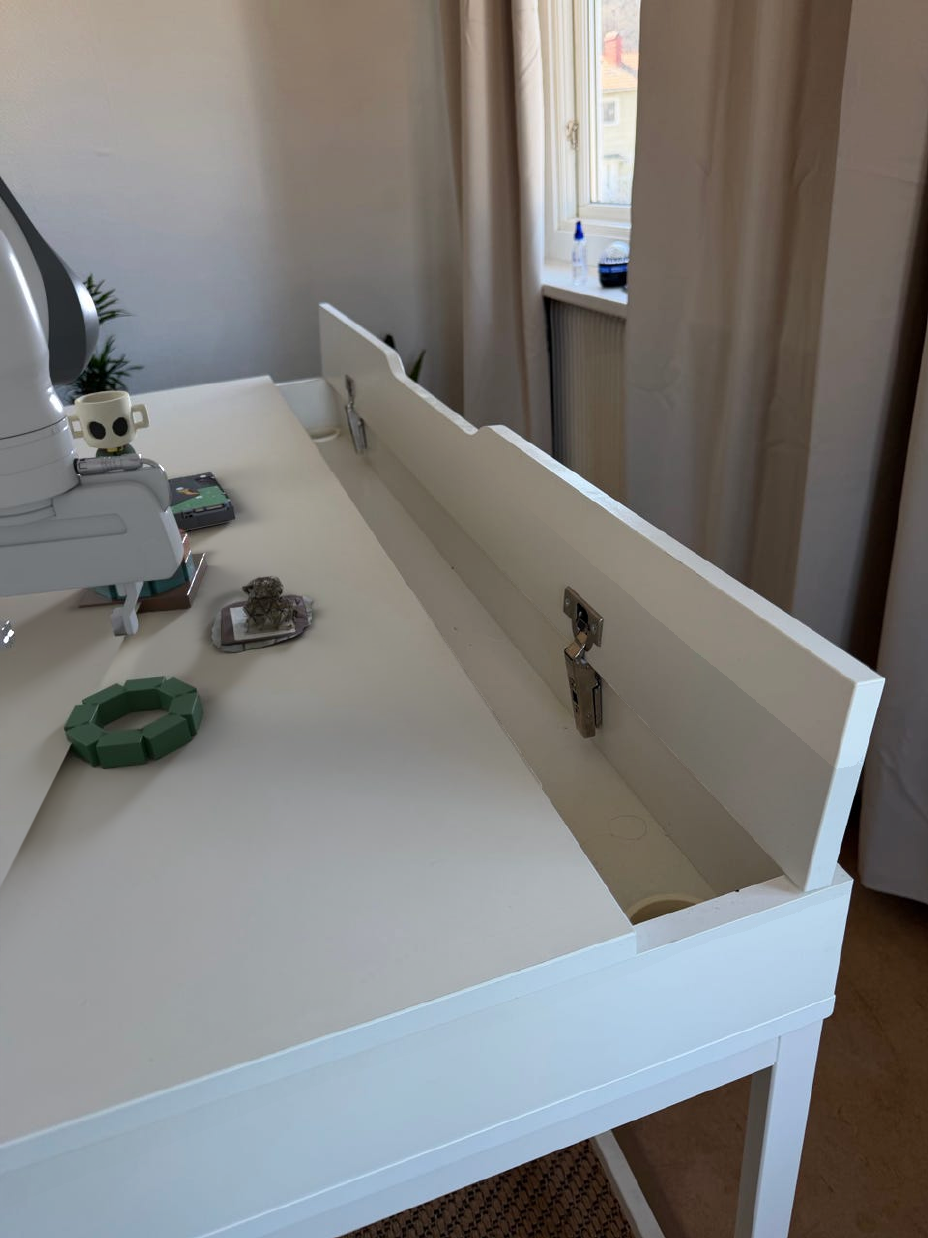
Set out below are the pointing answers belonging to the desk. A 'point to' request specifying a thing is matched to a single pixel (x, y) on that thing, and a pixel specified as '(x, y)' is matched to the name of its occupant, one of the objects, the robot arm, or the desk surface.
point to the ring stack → (159, 586)
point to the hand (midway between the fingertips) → (65, 639)
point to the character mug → (108, 422)
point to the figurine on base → (261, 617)
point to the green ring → (134, 743)
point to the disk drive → (199, 501)
